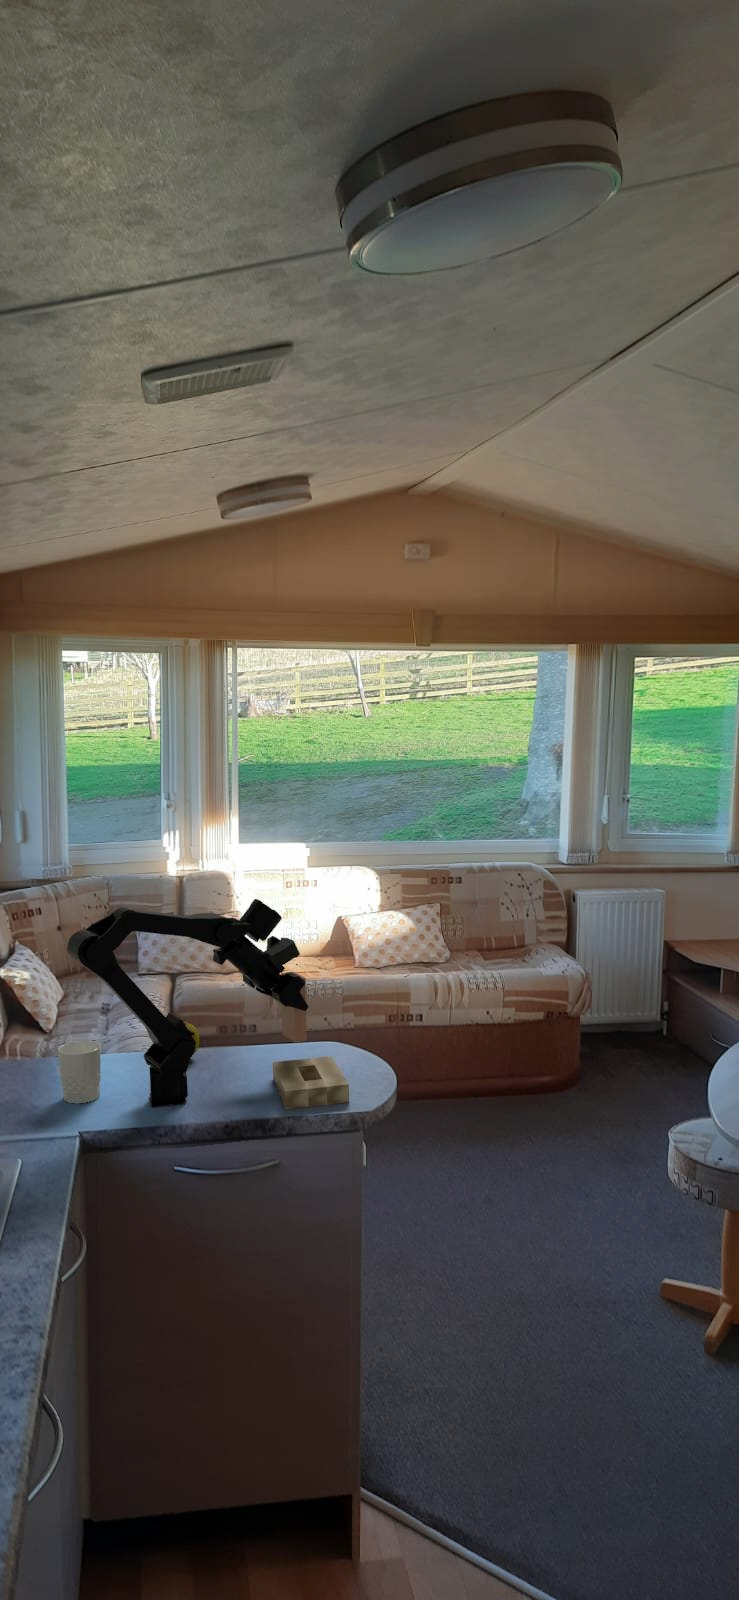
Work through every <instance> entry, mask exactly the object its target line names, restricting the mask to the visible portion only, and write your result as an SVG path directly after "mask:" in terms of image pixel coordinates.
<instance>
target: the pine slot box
mask: <svg viewBox="0 0 739 1600" xmlns="http://www.w3.org/2000/svg"><path fill="white" fill-rule="evenodd" d="M272 1075H273V1076H272V1080H273V1079H274V1080H273V1082H274V1085H275V1086H277V1087H276V1089H277V1092H278V1091H279V1092H278V1094H279V1097H280V1099H281V1102H282V1103H283V1106H284V1109H285V1110H294V1109H302V1108H312V1107H321V1106H328V1105H329V1106H330V1105H337V1104H347V1103H350V1084H349V1082H348V1081H347V1079H346V1078H345V1076H344V1074H343V1072H342V1070H341V1069H340V1068H339V1065H338V1064H337V1063H336V1061H335V1059H334V1058H333V1056H332V1055H331V1056H329V1055H328V1056H319V1057H310V1058H300V1059H298V1058H297V1059H291V1060H289V1059H288V1060H281V1061H280V1060H279V1061H273V1062H272Z"/></svg>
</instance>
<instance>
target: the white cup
mask: <svg viewBox="0 0 739 1600" xmlns="http://www.w3.org/2000/svg"><path fill="white" fill-rule="evenodd" d="M101 1046H102V1045H101V1043H99V1042H97V1041H94V1040H77V1041H76V1040H75V1041H71V1042H67V1043H65V1044H62V1045H61V1046H58V1048H57V1055H58V1063H59V1064H58V1065H59V1074H60V1082H61V1087H62V1096H63V1100H65V1101H67V1102H69V1103H68V1104H71V1103H84V1104H87V1103H86V1102H88V1103H90V1101H91V1102H94V1101H95V1099H96V1100H98V1098H99V1097H100V1096H101V1091H100V1090H101V1087H100V1086H101V1085H100V1083H101V1073H102V1072H101V1069H102V1068H101V1064H102V1061H101V1054H102V1053H101V1048H102V1047H101ZM93 1100H94V1101H93ZM65 1101H64V1102H65ZM67 1102H66V1103H67Z"/></svg>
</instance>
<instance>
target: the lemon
mask: <svg viewBox="0 0 739 1600" xmlns="http://www.w3.org/2000/svg"><path fill="white" fill-rule="evenodd" d="M183 1022H184V1024H185V1025H186V1027H187V1029H189V1030H190V1031H192V1032H193V1033H195V1034H194V1035H192V1037H193V1038H194V1040H195V1041H196V1047H195V1051H194V1054H196V1052H197V1051H198V1049H199V1046H200V1035H199V1032H198V1029H197V1028H196V1027H195V1026H194V1025H193V1024H192V1023H188V1022H186V1021H183Z"/></svg>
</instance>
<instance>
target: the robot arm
mask: <svg viewBox="0 0 739 1600" xmlns="http://www.w3.org/2000/svg"><path fill="white" fill-rule="evenodd" d="M282 919H283V917H282V916H281V914H279V912H278V911H276V909H273V908H272V907H270V906H269V905H267V904H266V903H264V902H263V901H261V900H260V899H257V898H254V899H253V900H252V902H251V903H250V905H249V907H248V909H247V910H245V912H244V913H243V915H241V917H240V919H237V918H234V917H225V916H222V915H220V914H217V913H215V912H204V913H202V912H201V913H194V914H187V915H181V914H174V913H165V912H164V913H163V912H156V911H150V910H140V909H133V908H132V909H131V908H129V907H126V906H122V907H119V908H116V909H115V910H114V911H112V912H111V913H110V914H109V915H107V916H104V917H103V918H101V919H99V920H97V921H95V922H93V923H92V924H90V925H89V926H87V928H85V929H81V930H78V931H76V932H75V933H73V934H72V935H71V936H70V938H69V939H68V942H67V948H66V951H67V954H68V955H69V957H71V959H73V960H74V961H76V962H77V963H79V964H80V965H81V966H83V967H84V968H86V969H87V970H88V971H90V972H91V973H92V974H94V975H96V976H97V977H98V978H100V980H102V981H103V983H104V984H105V985H106V986H107V987H108V988H109V989H110V990H111V992H112V993H113V994H114V995H116V997H117V998H118V999H119V1000H120V1001H121V1002H122V1003H123V1005H124V1006H125V1007H126V1008H127V1009H128V1010H129V1011H130V1012H131V1013H132V1014H133V1015H134V1016H135V1017H136V1019H137V1020H138V1021H139V1022H140V1023H141V1024H142V1025H143V1027H144V1028H145V1030H146V1032H147V1034H148V1036H149V1038H150V1040H151V1042H152V1044H151V1045H150V1046H149V1047H148V1049H147V1050H146V1052H145V1053H144V1054H143V1058H144V1061H145V1064H146V1065H148V1066H149V1087H150V1093H149V1099H150V1101H149V1102H150V1107H151V1108H156V1107H167V1106H175V1105H183V1104H184V1105H185V1104H187V1100H186V1099H187V1097H188V1096H189V1093H188V1090H189V1089H188V1074H187V1072H188V1069H189V1064H190V1062H191V1059H192V1057H193V1056H194V1054H195V1053H194V1051H195V1047H196V1041H195V1040H194V1038H193V1037H192V1035H194V1034H195V1033H193V1032H192V1031H190V1030H189V1029H187V1027H186V1025H185V1024H184V1022H185V1021H183V1020H182V1018H179V1017H178V1016H176V1015H175V1014H173V1013H172V1012H168V1013H167V1015H164V1014H163V1013H162V1012H161V1010H159V1008H158V1007H157V1006H156V1005H155V1004H154V1002H152V1000H150V999H149V997H148V996H147V995H146V994H145V993H144V992H143V991H142V990H141V988H140V987H139V985H137V984H136V983H135V982H134V981H133V980H132V979H131V977H129V975H128V974H127V973H126V972H125V971H124V970H123V969H122V967H121V966H120V964H119V961H118V959H117V956H116V954H115V953H114V951H115V950H116V949H118V948H119V946H121V944H123V942H124V941H125V940H126V938H127V937H128V936H129V935H130V934H131V933H132V932H138V933H139V932H140V933H149V934H155V935H156V934H157V935H165V936H175V937H184V938H185V937H186V938H190V939H193V940H195V941H199V942H202V943H205V944H208V945H210V946H215V947H217V948H215V949H213V950H212V952H213V956H212V962H213V963H216V964H217V965H220V966H222V965H224V963H226V961H228V962H229V963H230V964H231V965H233V967H235V968H236V969H237V970H238V972H239V973H240V974H241V975H242V982H244V983H245V984H246V985H247V986H248V987H250V988H251V989H253V990H254V989H255V991H257V992H258V993H260V994H263V995H266V996H267V997H268V996H269V997H272V999H273V1000H275V1001H276V1003H278V1004H280V1005H281V1006H282V1005H283V1006H285V1007H287V1006H289V1007H293V1008H297V1009H300V1010H304V1011H306V1012H307V1010H308V1009H309V1005H308V1003H307V1001H305V1000H304V998H303V996H302V995H301V993H300V990H301V989H302V988H303V986H304V985H305V981H304V980H303V979H302V978H301V977H300V976H298V975H296V974H294V973H292V972H291V971H289V972H290V973H286V974H285V975H284V976H283V975H281V973H284V971H285V969H286V967H285V966H284V965H286V964H288V963H289V962H290V961H292V960H294V959H295V958H298V957H299V956H300V955H301V953H300V951H299V949H298V947H297V945H296V943H295V940H293V939H292V938H289V937H280V939H279V938H278V937H276V936H274V935H272V936H270V935H271V933H272V932H273V931H274V930H275V928H277V926H278V924H280V922H281V920H282ZM246 936H247V937H246ZM268 937H269V938H268ZM250 939H251V940H252V941H254V942H255V943H258V942H259V941H262V942H265V941H266V947H265V948H266V949H265V950H264V951H263V950H262V949H260V948H259V947H258V946H257V945H256V944H254V943H253V942H252V941H251V940H250Z"/></svg>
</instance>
